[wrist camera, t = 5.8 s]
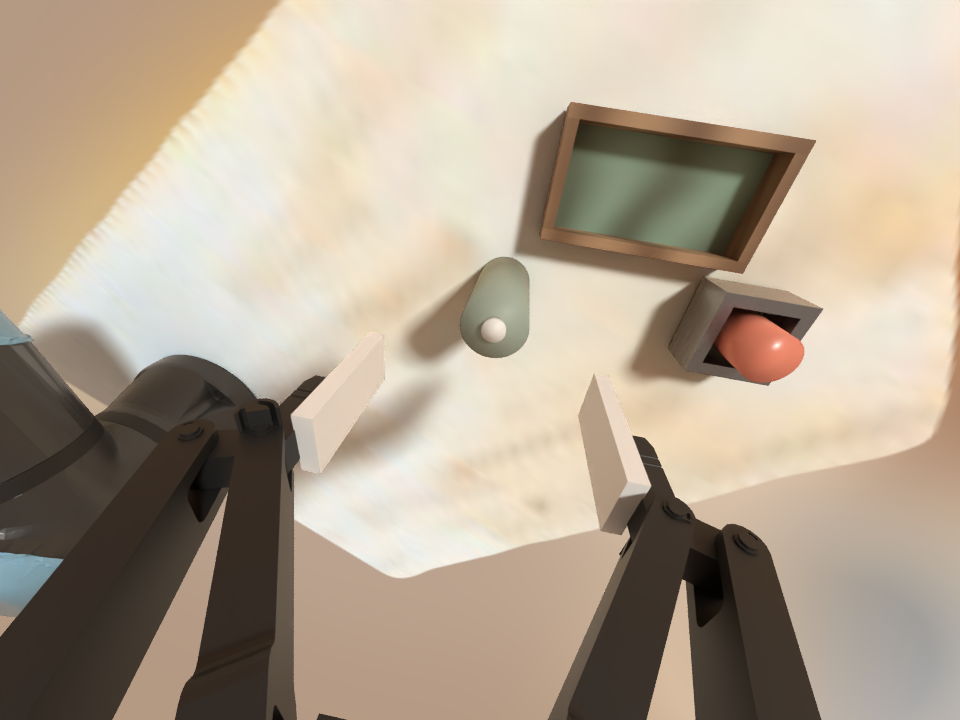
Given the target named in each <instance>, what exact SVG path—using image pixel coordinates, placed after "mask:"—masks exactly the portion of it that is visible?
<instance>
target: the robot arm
mask: <svg viewBox="0 0 960 720" xmlns="http://www.w3.org/2000/svg"><path fill="white" fill-rule="evenodd" d="M31 341H33V339H32V337H31V336H30V335H26V334H23V333H22V332H21V331H20V330H19V328H18V327H17V326H16V325H15V324H14V323H13V322H12V321H11V320H10V319H9V318H8V317H7V316H6V315H5V314H4V313H3V312H2V311H1V310H0V615H3V616H9V617H16V618H15V620H14V621H13V622H12V623H11V625H10V626H9V627H8V628H7V629H6V631H5V632H4V633H3V634H2V636H1V637H0V720H112V719H113V717H114V715H115V713H116V711H117V709H118V707H119V705H120V703H121V701H122V699H123V698H124V696H125V694H126V692H127V690H128V688H129V686H130V684H131V681H132V680H133V678H134V676H135V674H136V672H137V670H138V668H139V666H140V664H141V662H142V660H143V658H144V656H145V654H146V652H147V650H148V648H149V646H150V644H151V642H152V640H153V638H154V636H155V634H156V632H157V630H158V628H159V626H160V624H161V622H162V621H163V619H164V617H165V615H166V612H167V610H168V609H169V607H170V605H171V603H172V601H173V599H174V597H175V595H176V593H177V591H178V589H179V587H180V585H181V583H182V581H183V579H184V577H185V575H186V573H187V571H188V569H189V567H190V565H191V563H192V561H193V559H194V557H195V555H196V553H197V551H198V549H199V547H200V545H201V544H202V542H203V539H204V538H205V535H206V533H207V532H208V530H209V528H210V526H211V524H212V521H213V520H214V518H215V516H216V514H217V512H218V510H219V508H220V506H221V504H222V502H223V500H224V498H225V496H226V494H227V492H228V496H227V501H226V507H225V512H224V518H223V524H222V529H221V535H220V540H219V546H218V551H217V557H216V562H215V568H214V574H213V579H212V584H211V590H210V595H209V601H208V606H207V612H206V618H205V623H204V629H203V634H202V640H201V645H200V651H199V656H198V662H197V666H196V670H195V672H194V674H193V676H192V677H191V678H190V679H189V680H188V681H187V682H186V684H185V686H184V688H183V691H182V693H181V696H180V700H179V704H178V708H177V713H176V717H175V720H297V717H296V703H295V694H294V681H293V680H294V673H293V671H294V668H293V667H294V660H293V659H294V652H293V651H294V650H293V649H294V640H293V639H294V473H293V467H294V466H295V465H296V463H297V462H298V461H299V460H300V465H301V470H304V471H309V472H314V473H319V474H321V473H322V471H323V470H324V468H325V467H326V465H327V464H328V462H329V461H330V459H331V458H332V457H333V455H334V454H335V452H336V451H337V449H338V448H339V446H340V445H341V443H342V442H343V440H344V439H345V437H346V436H347V434H348V433H349V431H350V430H351V428H352V427H353V425H354V424H355V422H356V421H357V419H358V418H359V416H360V415H361V413H362V412H363V410H364V409H365V407H366V406H367V404H368V403H369V401H370V400H371V399H372V397H373V396H374V394H375V393H376V391H377V390H378V388H379V387H380V385H381V384H382V382H383V381H384V379H385V334H381V333H375V332H369V333H368V334H367V335H366V336H365V337H364V338H363V339H362V340H361V341H360V342H359V344H358V345H357V346H356V347H355V348H354V349H353V350H352V351H351V352H350V353H349V354H348V355H347V356H346V357H345V358H344V359H343V360H342V361H341V362H340V363H339V365H338V366H337V367H336V368H335V369H334V370H333V371H332V372H331V373H330V374H329V375H328V376H327V377H321V376H314V377H312V378H310V379H308V380H306V381H304V382H303V383H302V384H301V385H300V386H299V387H298V388H297V390H295V391H294V392H293V393H292V394H291V396H289V397H288V398H287V399H286V400H285V401H284V402H283V403H282V404H281V405H280V406H279V405H278V403H277V402H276V401H274V400H271V399H256V397H255V396H254V395H253V393H252V392H251V391H250V390H249V389H248V388H247V387H246V386H245V385H244V384H243V383H242V382H241V381H240V380H239V379H238V378H236V377H235V376H234V375H232V374H231V373H230V372H228V371H227V370H225V369H223V368H222V367H220V366H218V365H216V364H214V363H212V362H209V361H207V360H204V359H201V358H198V357H194V356H188V355H172V356H168V357H165V358H163V359H161V360H159V361H157V362H155V363H153V364H151V365H149V366H148V367H146V368H145V369H143V370H142V371H141V372H140V373H139V374H138V375H137V377H136V378H135V379H134V381H133V382H132V383H131V384H130V385H129V386H128V387H127V388H126V389H125V390H124V391H123V392H122V393H121V394H120V395H119V396H118V397H117V398H116V399H115V400H114V401H113V402H112V404H111V405H110V406H109V407H108V408H107V409H105V410H104V411H102V412H101V413H99V414H98V415H96V416H94V415H93V414H92V413H91V412H90V411H89V409H88V408H87V407H86V406H85V405H84V404H83V402H82V401H81V400H80V399H79V398H78V397H77V395H76V394H75V393H74V392H73V391H72V390H71V388H70V387H69V386H68V385H67V384H66V383H65V381H64V380H63V379H62V378H61V377H60V375H59V374H58V373H57V372H56V371H55V370H54V368H53V367H52V366H51V365H50V364H49V363H48V361H47V360H46V359H45V358H44V357H43V356H42V354H41V353H40V352H39V351H38V350H37V349H36V347H35V346H34V345H33V344H32V343H31ZM578 417H579V422H580V427H581V433H582V438H583V443H584V448H585V453H586V458H587V463H588V469H589V474H590V479H591V484H592V489H593V494H594V499H595V505H596V510H597V515H598V520H599V525H600V530H601V531H604V532H609V533H614V534H619V535H622V533H623V531H624V530H625V528H626V527H627V526H628V529H629V533H630V538H629V540H628V541H627V543H626V544H625V546H624V547H623V549H622V551H621V552H620V554H619V555H621V556H620V559H619V561H618V563H617V565H616V568H615V570H614V572H613V574H612V577H611V579H610V581H609V583H608V586H607V588H606V590H605V592H604V595H603V597H602V599H601V601H600V604H599V606H598V608H597V611H596V613H595V615H594V617H593V619H592V621H591V624H590V626H589V628H588V631H587V633H586V635H585V637H584V640H583V642H582V644H581V646H580V648H579V651H578V653H577V655H576V658H575V660H574V662H573V664H572V667H571V669H570V671H569V673H568V676H567V678H566V680H565V682H564V685H563V687H562V689H561V691H560V693H559V696H558V698H557V701H556V702H555V705H554V707H553V709H552V712H551V714H550V716H549V718H548V720H646V719H647V715H648V711H649V707H650V703H651V699H652V695H653V692H654V688H655V684H656V680H657V676H658V671H659V668H660V664H661V660H662V656H663V652H664V648H665V644H666V640H667V636H668V632H669V628H670V624H671V620H672V617H673V612H674V609H675V605H676V601H677V596H678V593H679V589H680V585H681V581H682V579H683V580H685V581H686V590H687V604H688V618H689V633H690V645H691V646H690V647H691V660H692V674H693V688H694V703H695V717H696V720H821V717H820V714H819V711H818V708H817V704H816V701H815V698H814V694H813V691H812V688H811V685H810V682H809V678H808V675H807V671H806V668H805V665H804V662H803V659H802V655H801V652H800V649H799V645H798V642H797V639H796V636H795V632H794V629H793V626H792V623H791V619H790V616H789V613H788V609H787V606H786V603H785V600H784V597H783V593H782V590H781V586H780V583H779V580H778V577H777V573H776V570H775V567H774V564H773V560H772V557H771V554H770V552H769V550H768V548H767V546H766V545H765V544H764V543H763V542H762V540H761V539H760V538H759V537H758V536H756V535H755V534H754V533H752V532H751V531H750V530H748V529H746V528H744V527H742V526H739V525H736V524H727V525H726V526H725V527H724V528H723V529H722V530H719V529H717V528H715V527H712V526H710V525H708V524H706V523H704V522H701V521H700V520H698V519H696V518H695V516H694V514H693V512H692V510H691V509H690V508H689V507H688V506H687V505H686V504H685V503H684V502H682V501H681V500H680V499H678V498H676V497H675V496H674V493H673V491H672V489H671V486H670V484H669V482H668V480H667V477H666V475H665V473H664V470H663V468H661V464H660V461H659V460H658V457H657V454H656V452H655V450H654V448H653V447H652V445H651V444H650V443H649V442H648V441H647V440H646V439H645V438H642V437H637V436H632V434H631V431H630V429H629V426H628V423H627V421H626V418H625V415H624V413H623V410H622V407H621V405H620V402H619V400H618V397H617V394H616V392H615V389H614V386H613V384H612V381H611V378H610V376H606V375H601V374H595V373H594V375H593V378H592V381H591V383H590V386H589V388H588V391H587V394H586V396H585V399H584V402H583V404H582V407H581V410H580V412H579V415H578ZM317 720H345V719H341V718H337V717H332V716H328V715H324V714H319V716H318V718H317Z"/></svg>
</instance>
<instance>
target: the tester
mask: <svg viewBox="0 0 960 720" xmlns="http://www.w3.org/2000/svg"><path fill="white" fill-rule="evenodd" d="M734 307H736V308H742V309H748V310H753V311H759V312H761V313H760V315H762V316H763V317H765V318H766V319H768V320H769V321H771V322H772V323H774V324H775V325H777V326H779V327H780V328H782V329H783V330H785V331H786V332H788V333H789V334H791V335H792V336H794V337H795V338H797V339H798V340H799V341H801V339H802V338H803V337H804V335H805V334H806V332H807V331H808V330H809V328H810V327H811V325H812V324H813V323H814V321H815V320H816V319H817V317H818V316H819V314H820V313H821V312H822V310H823V309H822V308H820V307H818V306H816V305H814V304H812V303H810V302H808V301H806V300H804V299H802V298H800V297H798V296H796V295H794V294H792V293H790V292H788V291H783V290H777V289H771V288H765V287H760V286H754V285H748V284H742V283H737V282H731V281H725V280H719V279H714V278H708V277H703V279H702V281H701V283H700V285H699V287H698V289H697V291H696V293H695V295H694V297H693V299H692V301H691V303H690V305H689V307H688V309H687V311H686V313H685V315H684V317H683V319H682V321H681V323H680V325H679V327H678V329H677V331H676V334H675V336H674V338H673V340H672V342H671V344H670V346H669V348H668V349H669V350H670V351H671V353H672V354H673V355H674V357H675V358H676V359H677V361H678V362H679V363H680V365H681V366H682V367H683V369H684V370H685V371H691V372H696V373H702V374H707V375H713V376H718V377H724V378H729V379H734V380H740V381H745V382H751V383H756V384H762V385H767V386H768V385H769V384H770V383H771V382H766V383H758V382H753V381H750V380H748V379H746V378H745V377H744V376H743V375H742V374H741V373H740V372H739V371H738V370H737V369H736V368H735V367H734V366H733V365H732V364H731V363H730V362H729V361H728V360H727V359H726V358H725V357H724V356H723V355H722V354H721V353H720V352H718V351H717V350H716V349H715V348H714V347H713V346H712V345H713V343H714V341H715V339H716V338H717V336H718V334H719V332H720V331H721V329H722V327H723V325H724V324H725V322H726V320H727V318H728V317H729V315H730V313H731V311H732V309H733V308H734Z"/></svg>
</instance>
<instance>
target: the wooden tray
mask: <svg viewBox="0 0 960 720" xmlns="http://www.w3.org/2000/svg"><path fill="white" fill-rule="evenodd" d="M815 142H816V140H810V139H804V138H797V137H791V136H785V135H778V134H772V133H766V132H759V131H753V130H746V129H740V128H734V127H727V126H721V125H715V124H708V123H702V122H695V121H689V120H683V119H676V118H670V117H664V116H657V115H651V114H644V113H638V112H632V111H625V110H619V109H613V108H606V107H600V106H593V105H587V104H581V103H574V102H571V103H570V104H569V106H568V107H567V112H566V116H565V121H564V125H563V130H562V134H561V139H560V143H559V148H558V152H557V157H556V161H555V166H554V170H553V175H552V179H551V184H550V188H549V193H548V197H547V202H546V207H545V211H544V216H543V220H542V225H541V229H540V239H544V240H550V241H555V242H561V243H567V244H573V245H579V246H584V247H590V248H596V249H602V250H608V251H613V252H619V253H625V254H631V255H637V256H642V257H648V258H654V259H660V260H666V261H671V262H677V263H683V264H689V265H695V266H700V267H706V268H712V269H718V270H724V271H729V272H735V273H741V274H743V273H744V271H745V269H746V267H747V265H748V264H749V262H750V260H751V258H752V256H753V254H754V253H755V251H756V249H757V247H758V245H759V244H760V242H761V240H762V238H763V236H764V235H765V233H766V231H767V229H768V227H769V225H770V224H771V222H772V220H773V218H774V216H775V215H776V213H777V211H778V209H779V207H780V206H781V204H782V202H783V200H784V198H785V197H786V195H787V193H788V191H789V189H790V187H791V186H792V184H793V182H794V180H795V178H796V177H797V175H798V173H799V171H800V169H801V168H802V166H803V164H804V162H805V160H806V159H807V157H808V155H809V153H810V151H811V149H812V148H813V146H814V144H815Z"/></svg>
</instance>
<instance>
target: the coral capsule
mask: <svg viewBox="0 0 960 720" xmlns="http://www.w3.org/2000/svg"><path fill="white" fill-rule="evenodd" d="M712 346H713V347H714V348H715V349H716V350H717V351H718V352H720V353H721V354H722V355H723V356H724V357H725V358H726V359H727V360H728V361H729V362H730V363H731V364H732V365H733V366H734V367H735V368H736V369H737V370H738V371H739V372H740V373H741V374H742V375H743V376H744V377H745V378H746V379H748V380H750V381H753V382H758V383H766V382H772V381H776V380H779V379H781V378H783V377H785V376H787V375H789V374H790V373H791V372H793V371H794V370H795V369H796V368H797V367H798V366H799V364H800V363H801V361H802V359H803V356H804V347H803V344H802V343H801V341H799V340H798V339H797V338H795V337H794V336H792V335H791V334H789V333H788V332H786V331H785V330H783V329H782V328H780V327H779V326H777V325H775V324H774V323H772V322H771V321H769V320H768V319H766V318H765V317H763V316H762V315H760V314H759V313H757V312H756V311H753V310H748V309H742V308H736V307H734V308H733V309H732V311H731V313H730V315H729V317H728V318H727V320H726V322H725V324H724V325H723V327H722V329H721V331H720V332H719V334H718V336H717V338H716V339H715V341H714V343H713V345H712Z"/></svg>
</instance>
